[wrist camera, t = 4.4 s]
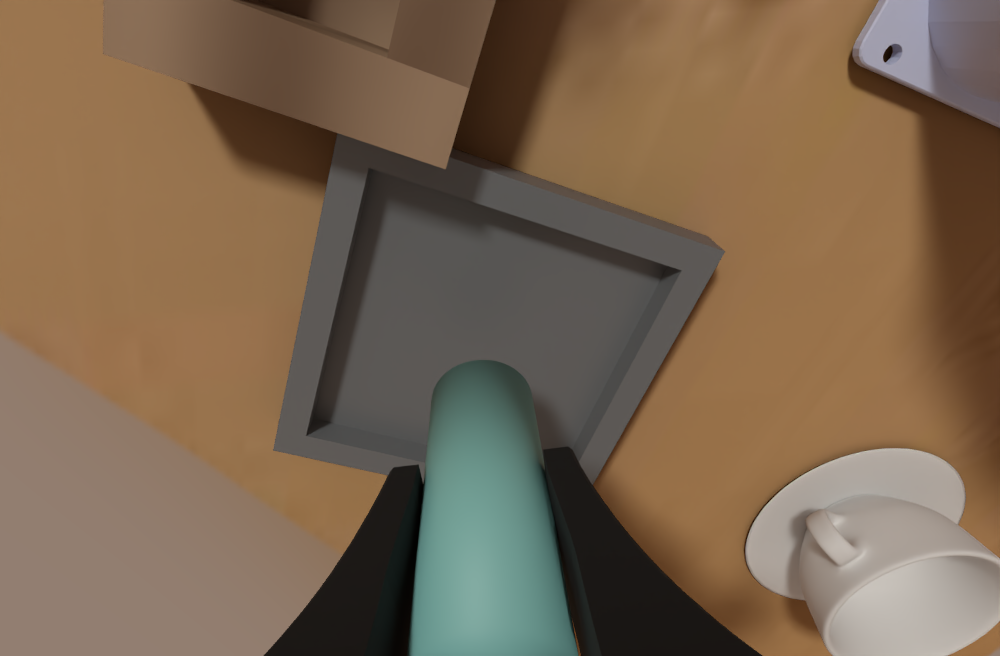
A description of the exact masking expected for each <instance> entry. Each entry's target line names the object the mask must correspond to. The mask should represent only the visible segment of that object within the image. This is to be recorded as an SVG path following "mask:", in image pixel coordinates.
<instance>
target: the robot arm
mask: <svg viewBox="0 0 1000 656" xmlns="http://www.w3.org/2000/svg"><path fill="white" fill-rule="evenodd" d="M890 45H891V46H892V49H893V52H892V55H891V57H890V59H889V60H888V61H887V62H884V61H883V55H884V52H885V50H886V49H887V48H888V47H889V46H890ZM853 58H854V61H855V62H856V63H857V64H858V65H859V66H861V67H863V68H866V69H868V70H870V71H872V72H875V73H877V74H879V75H881V76H884V77H886V78H888V79H890V80H893V81H895V82H897V83H899V84H902V85H904V86H906V87H908V88H911V89H913V90H915V91H917V92H919V93H922V94H924V95H926V96H928V97H931V98H933V99H935V100H937V101H940V102H942V103H944V104H946V105H949V106H951V107H953V108H955V109H958V110H960V111H962V112H964V113H967V114H969V115H971V116H973V117H976V118H978V119H980V120H982V121H984V122H987V123H989V124H991V125H993V126H996V127H998V128H1000V0H879V2H878V3H877V5H876V7H875V9H874V10H873V12H872V14H871V15H870V17H869V19H868V21H867V22H866V24H865V26H864V28H863V29H862V31H861V33H860V35H859V36H858V38H857V40H856V42H855V44H854V47H853ZM543 455H544V466H545V474H546V479H547V485H548V491H549V496H550V502H551V507H552V511H553V516H554V521H555V527H556V532H557V538H558V544H559V549H560V555H561V561H562V566H563V572H564V578H565V583H566V589H567V594H568V600H569V606H570V611H571V616H572V620H573V623H574V627H575V631H576V635H577V639H578V643H579V648H580V652H581V656H762V655H761V654H759V653H758V652H757V651H755V650H754V649H753V648H751V647H750V646H749V645H747V644H746V643H745V642H743V641H742V640H741V639H739V638H738V637H737V636H736V635H734V634H733V633H732V632H731V631H729V630H728V629H727V628H725V627H724V626H723V625H722V624H720V623H719V622H718V621H717V620H715V619H714V618H713V617H712V616H711V615H710V614H709V613H707V612H706V611H705V610H704V609H703V608H702V607H701V606H700V605H698V604H697V603H696V602H695V601H694V600H693V599H692V598H690V597H689V596H688V595H687V594H686V593H685V592H684V591H682V590H681V589H680V588H679V587H678V586H677V585H676V584H675V583H674V582H673V581H672V580H671V579H670V578H669V577H668V576H667V575H666V574H665V573H664V572H663V571H662V570H661V569H660V568H659V567H658V566H657V565H656V564H655V563H654V562H653V561H652V560H651V559H650V558H649V556H648V555H647V554H646V553H645V552H644V551H643V550H642V549H641V548H640V546H639V545H638V544H637V543H636V542H635V541H634V540H633V538H632V537H631V536H630V535H629V534H628V532H627V531H626V530H625V529H624V527H623V526H622V525H621V524H620V522H619V521H618V520H617V519H616V517H615V516H614V515H613V513H612V512H611V511H610V509H609V508H608V507H607V505H606V504H605V502H604V501H603V500H602V498H601V497H600V495H599V494H598V493H597V491H596V490H595V488H594V487H593V485H592V483H591V482H590V480H589V479H588V477H587V476H586V474H585V472H584V471H583V469H582V467H581V465H580V463H579V462H578V460H577V458H576V456H575V454H574V451H573V450H572V449H571V448H570V447H559V448H551V449H543ZM422 493H423V481H422V477H421V472H420V468H419V464H417V465H409V466H401V467H394V468H393V469H392V470H391V471H390V472H389V475H388V477H387V479H386V481H385V483H384V485H383V487H382V489H381V491H380V493H379V495H378V496H377V498H376V500H375V502H374V504H373V506H372V508H371V509H370V511H369V513H368V515H367V516H366V518H365V520H364V522H363V523H362V525H361V527H360V528H359V530H358V532H357V533H356V535H355V537H354V539H353V540H352V542H351V543H350V545H349V546H348V548H347V550H346V551H345V553H344V554H343V556H342V557H341V559H340V560H339V562H338V563H337V565H336V566H335V568H334V569H333V571H332V572H331V574H330V575H329V576H328V578H327V579H326V581H325V582H324V583H323V585H322V586H321V588H320V589H319V590H318V592H317V593H316V594H315V596H314V597H313V598H312V599H311V601H310V602H309V603H308V605H307V606H306V607H305V608H304V610H303V611H302V612H301V613H300V615H299V616H298V617H297V618H296V620H294V622H293V623H292V624H291V625H290V626H289V628H288V629H287V630H286V631H285V632H284V634H283V635H282V636H281V637H280V638H279V639H278V640H277V642H276V643H275V644H274V645H273V646H272V647H271V648H270V649H269V650H268V652H267V653H266V654H265V655H264V656H407V650H408V639H409V629H410V619H411V608H412V598H413V587H414V577H415V566H416V556H417V546H418V535H419V525H420V514H421V504H422Z"/></svg>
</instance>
